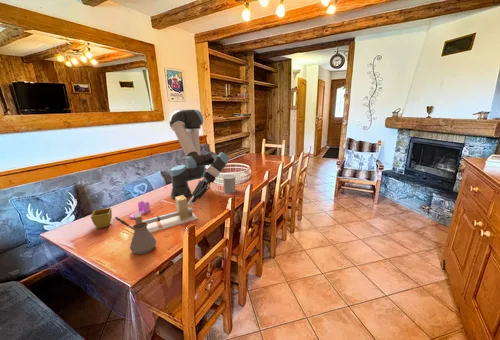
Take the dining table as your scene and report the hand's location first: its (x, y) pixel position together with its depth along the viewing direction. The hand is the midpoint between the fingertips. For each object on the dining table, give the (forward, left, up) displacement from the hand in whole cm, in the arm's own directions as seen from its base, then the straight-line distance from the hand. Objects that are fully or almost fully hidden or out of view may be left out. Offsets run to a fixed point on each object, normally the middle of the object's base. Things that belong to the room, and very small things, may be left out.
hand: (188, 205), depth 132 cm
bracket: (-24, -26, -8) cm, 36 cm away
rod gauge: (-1, -13, -8) cm, 16 cm away
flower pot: (-20, -45, -8) cm, 50 cm away
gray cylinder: (-25, +41, -8) cm, 49 cm away
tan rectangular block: (-1, -4, -6) cm, 7 cm away
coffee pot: (+14, -31, -8) cm, 35 cm away
